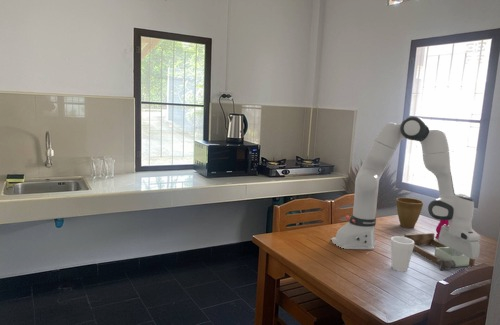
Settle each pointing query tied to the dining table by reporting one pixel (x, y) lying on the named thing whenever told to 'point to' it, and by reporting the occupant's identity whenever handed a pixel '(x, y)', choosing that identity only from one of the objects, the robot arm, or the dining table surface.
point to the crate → (451, 256)
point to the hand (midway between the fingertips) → (455, 259)
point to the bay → (429, 240)
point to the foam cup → (401, 252)
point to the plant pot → (408, 211)
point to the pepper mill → (442, 222)
